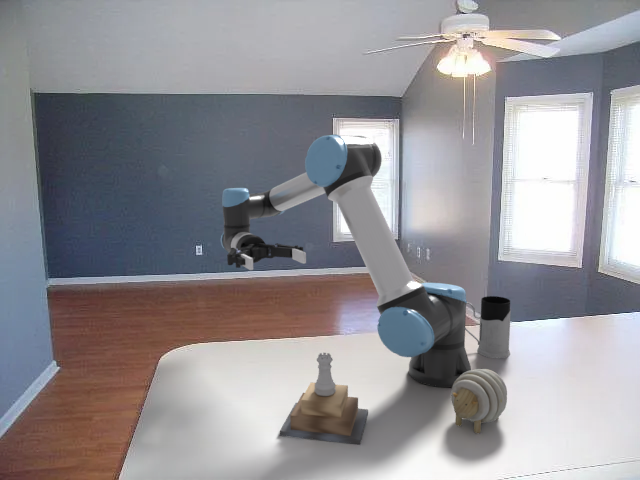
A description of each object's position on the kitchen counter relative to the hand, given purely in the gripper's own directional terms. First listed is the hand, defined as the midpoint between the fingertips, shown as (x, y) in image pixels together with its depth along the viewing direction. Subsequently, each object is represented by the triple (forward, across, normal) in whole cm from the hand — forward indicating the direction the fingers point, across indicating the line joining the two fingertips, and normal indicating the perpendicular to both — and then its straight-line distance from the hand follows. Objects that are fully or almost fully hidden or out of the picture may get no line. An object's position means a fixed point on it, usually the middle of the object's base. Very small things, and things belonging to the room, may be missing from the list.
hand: (278, 261), depth 121 cm
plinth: (+24, 0, -30) cm, 38 cm away
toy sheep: (+38, -28, -30) cm, 56 cm away
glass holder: (+10, -56, -30) cm, 65 cm away
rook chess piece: (+24, 0, -23) cm, 33 cm away
